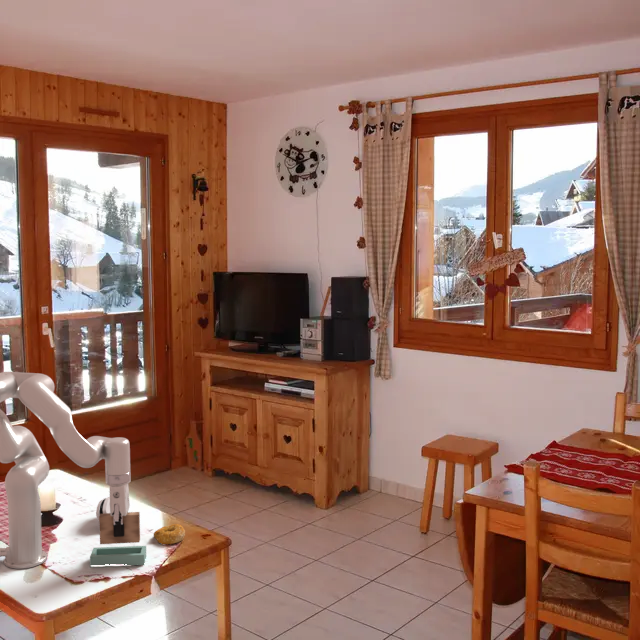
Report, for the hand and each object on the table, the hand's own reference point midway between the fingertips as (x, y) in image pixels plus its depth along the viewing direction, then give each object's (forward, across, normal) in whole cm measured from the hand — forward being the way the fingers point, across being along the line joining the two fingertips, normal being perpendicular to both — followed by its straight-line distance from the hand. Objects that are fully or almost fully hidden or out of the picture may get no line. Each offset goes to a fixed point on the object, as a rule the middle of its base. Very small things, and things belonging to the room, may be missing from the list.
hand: (119, 533), depth 235 cm
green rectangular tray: (+9, 0, +1) cm, 9 cm away
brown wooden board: (+3, 0, 0) cm, 3 cm away
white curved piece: (+9, +33, +8) cm, 35 cm away
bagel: (+10, +17, -14) cm, 24 cm away
